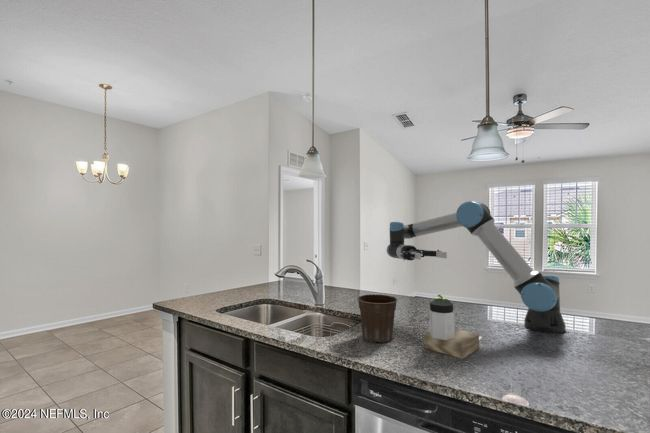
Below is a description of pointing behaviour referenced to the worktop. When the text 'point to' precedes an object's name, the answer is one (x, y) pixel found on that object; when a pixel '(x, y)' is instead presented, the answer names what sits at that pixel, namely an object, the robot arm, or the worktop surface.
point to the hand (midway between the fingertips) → (433, 255)
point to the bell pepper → (441, 299)
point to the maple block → (454, 344)
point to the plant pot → (377, 317)
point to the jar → (441, 320)
